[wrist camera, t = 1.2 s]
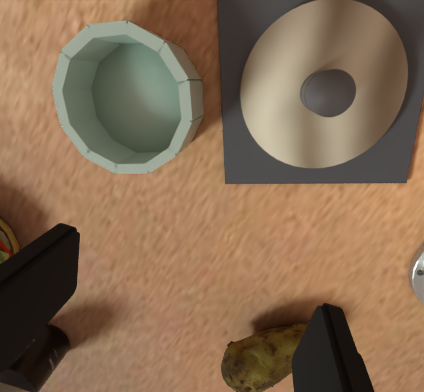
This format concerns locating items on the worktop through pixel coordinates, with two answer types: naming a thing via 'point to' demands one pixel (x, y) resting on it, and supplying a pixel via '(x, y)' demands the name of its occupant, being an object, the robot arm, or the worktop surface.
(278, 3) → the mat
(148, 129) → the bowl
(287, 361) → the potato
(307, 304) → the worktop surface
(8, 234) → the food
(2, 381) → the supplement bottle
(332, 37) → the lid
